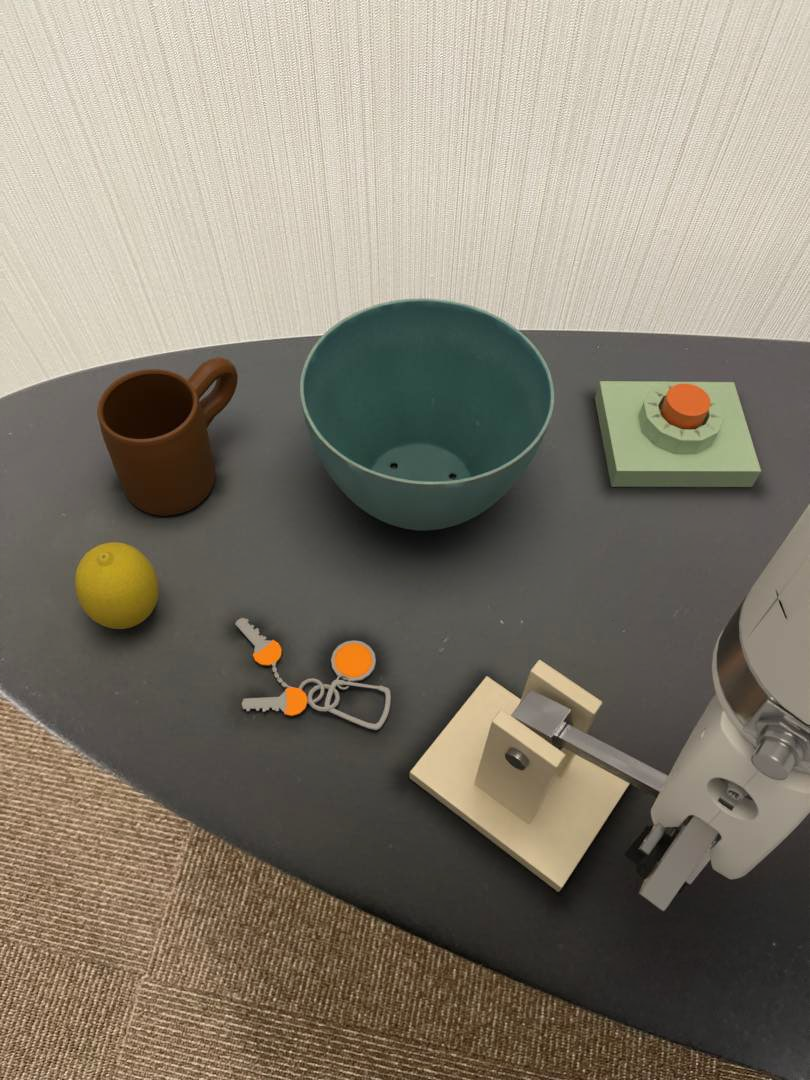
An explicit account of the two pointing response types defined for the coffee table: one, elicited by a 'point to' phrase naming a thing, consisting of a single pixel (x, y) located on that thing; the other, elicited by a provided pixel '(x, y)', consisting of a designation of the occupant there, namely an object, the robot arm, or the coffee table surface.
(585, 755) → the lever
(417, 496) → the plant pot
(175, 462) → the mug
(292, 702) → the key chain
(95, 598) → the lemon
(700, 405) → the button
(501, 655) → the coffee table surface
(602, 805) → the bracket
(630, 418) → the button block
